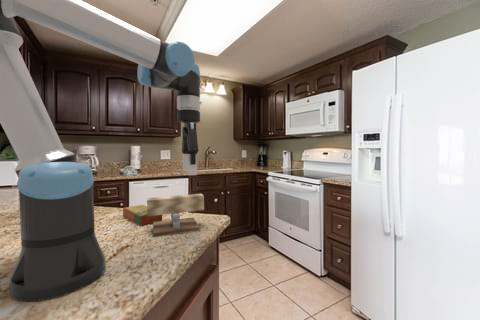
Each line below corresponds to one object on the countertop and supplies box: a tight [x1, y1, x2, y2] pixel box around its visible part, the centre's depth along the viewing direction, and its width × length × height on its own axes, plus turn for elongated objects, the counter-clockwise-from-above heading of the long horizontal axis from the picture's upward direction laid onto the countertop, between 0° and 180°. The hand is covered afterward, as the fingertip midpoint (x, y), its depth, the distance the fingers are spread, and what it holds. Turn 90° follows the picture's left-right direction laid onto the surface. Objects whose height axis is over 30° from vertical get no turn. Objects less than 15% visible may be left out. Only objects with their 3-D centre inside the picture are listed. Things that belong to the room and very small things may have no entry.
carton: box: [122, 204, 163, 227], centre depth 87 cm, size 8×16×4 cm, turn 47°
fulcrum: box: [152, 213, 201, 237], centre depth 77 cm, size 12×14×5 cm
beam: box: [146, 193, 205, 216], centre depth 77 cm, size 18×4×5 cm, turn 111°
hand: (189, 173), depth 78 cm, fingers open, 13 cm apart
